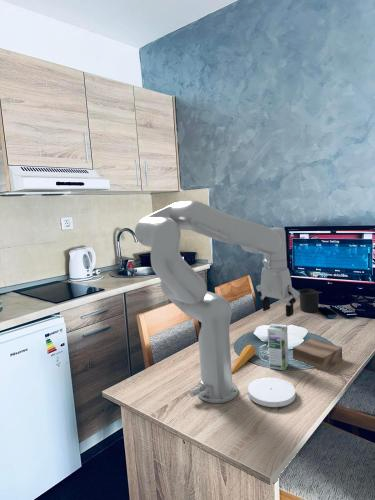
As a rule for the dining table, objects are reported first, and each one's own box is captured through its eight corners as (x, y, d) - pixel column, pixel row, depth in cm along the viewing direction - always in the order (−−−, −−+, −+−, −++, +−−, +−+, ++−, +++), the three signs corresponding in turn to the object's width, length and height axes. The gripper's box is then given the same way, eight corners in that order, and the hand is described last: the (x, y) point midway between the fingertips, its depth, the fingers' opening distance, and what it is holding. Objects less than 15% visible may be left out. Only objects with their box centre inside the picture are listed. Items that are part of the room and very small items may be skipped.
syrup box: (268, 368, 123) (267, 328, 121) (272, 361, 129) (271, 322, 127) (285, 371, 121) (283, 330, 119) (288, 363, 126) (287, 324, 124)
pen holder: (320, 308, 183) (320, 289, 182) (316, 313, 175) (316, 294, 174) (302, 306, 188) (301, 288, 187) (297, 311, 180) (297, 292, 179)
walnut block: (322, 372, 119) (322, 358, 118) (293, 360, 129) (292, 347, 128) (342, 360, 126) (342, 347, 125) (312, 350, 136) (312, 338, 135)
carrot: (249, 354, 137) (244, 344, 137) (259, 352, 135) (253, 341, 135) (226, 383, 121) (220, 371, 121) (236, 381, 118) (231, 369, 119)
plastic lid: (261, 380, 116) (261, 373, 116) (303, 392, 107) (302, 385, 107) (239, 400, 106) (238, 392, 105) (283, 416, 97) (283, 407, 96)
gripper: (248, 263, 124) (251, 310, 127) (290, 268, 111) (292, 321, 113) (262, 260, 129) (264, 305, 131) (304, 264, 115) (306, 314, 118)
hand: (277, 312), depth 122 cm, fingers open, 9 cm apart
